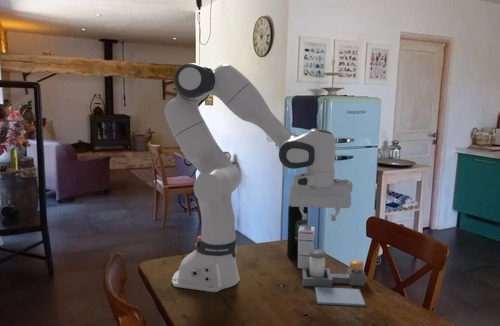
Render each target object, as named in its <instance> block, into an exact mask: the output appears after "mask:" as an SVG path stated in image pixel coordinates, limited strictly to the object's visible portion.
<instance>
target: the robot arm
mask: <svg viewBox="0 0 500 326" xmlns="http://www.w3.org/2000/svg"><path fill="white" fill-rule="evenodd" d="M173 82H174V87H175V89H176V91H177V94H176V96H175V97H174V98H172V99H170V100H169V101H168V102H167V103H166V104H165V107H164V115H165V120H166V122H167V125H168V127H169V130H170V132H171V134H172V136H173V138H174V139H175V141H176V143H177V146H179V148H180V150H181V152H182V154H183V155H184V158H185V159H186V160H187V161H188V162H189V163H191V164H192V165H193V166H194V167H195V168H196V170H197V171H198V173H199V174H198V176H197V177H196V180H195V181H194V183H193V193H194V196H195V197H196V199H197V202H198V205H199V211H200V217H201V218H200V219H201V235H198V236H197V237H196V241H195V249H194V250H193V251H192V252H191V253H188V254H187V255H186V256H185V257H184V258H183V259H182V260H181V262H180V264H179V268H178V270H176V271H175V272H174V274H173V275H172V278H171V284H173V285H172V286H173V287H175V288H183V289H187V290H188V289H190V290H198V291H204V292H209V293H218V292H219V291H221V290H224V289H228V288H231V287H233V286H236V285H237V284H238V283H239V282H240V276H239V270H238V266H237V258H236V256H237V253H238V252H237V250H238V247H237V244H238V243H237V238H236V215H235V213H234V209H233V202H232V193H233V192H234V191H236V189H238V187H239V184H240V179H241V174H240V171H239V169H238V168H237V166H236V165H235V164H233V163H232V161H231V160H230V159H229V157H228V156H227V154H226V153H225V152H224V151H223V150H222V148H221V147H220V146H219V144H218V143H217V142H216V139H215V138H214V135H213V133H212V132H211V131H210V128H209V126H208V125H207V123H206V122H205V120H204V118H203V116H202V114H201V112H200V109H199V107H200V106H201V105H203V103H204V102H205V101H207V99H208V98H209V97H210V96H215V97H217V98H218V99H219V100H220V101H221V102H222V103H223V104H224V105H225V106H226V108H227V109H228V110H229V111H231V113H233V114H234V115H235V116H237V118H239V119H241V120H242V121H244V122H247V123H250V124H253V125H255V126H257V127H258V128H260V129H261V130H262V131H263V132H264V133H265V134H266V135H267V136H268V137H269V138H270V139H271V140H272V141H273V142H274V143H275V144H276V146H277V147H278V149H279V151H278V158H279V162H280V163H281V164H282V165H283V166H284V167H286V168H288V169H291V170H296V169H300V168H306V172H304V173H303V172H302V173H300V174H297V175H294V176H293V178H292V182H293V183H292V184H291V186H290V189H289V194H288V206H289V205H290V206H292V207H299V210H300V212H301V214H302V220H307V214H304V212H303V210H304V207H308V208H326V209H327V208H329V209H330V208H331V209H334V210H335V211H334V213H333V214H332V213H331V214H330V221H331V222H336V221H337V216H338V214H339V213H340V212H341V209H349V208H350V207H352V194H351V193H352V192H353V187H354V186H353V182H352V181H350V180H349V179H340V178H339V179H338V178H335V171H336V170H335V164H334V163H335V159H336V140H335V136H334V134H333V133H332V132H331V131H329V130H326V129H323V128H315V127H314V128H311V129H310V130H308V131H306V132H305V133H303V134H301V135H297V134H295V133H293V132H291V131H290V130H289V129H288V128H287V127H286V126H285V125H284V124H283V123H282V122H281V121H280V120H279V119H278V118H277V116H275V114H274V113H273V112H272V111H271V109H270V108H269V106H268V104H267V102H266V101H265V99H264V97H263V96H262V95H261V94H262V93H260V91H259V90H258V88H256V86H255V85H254V83H252V82H251V81H250V79H248V78H247V77H246V76H245V75H244V74H243V73H242V72H241V71H239V70H238V69H236V68H235V67H234V66H233V65H231V64H227V63H223V64H221V65H219V66H217V67H215V69H212V68H210V67H207V66H204V65H201V64H198V63H194V62H190V63H189V62H188V63H185V64H182V65H181V66H180V67H178V68H177V70H176V71H175V74H174V78H173Z"/></svg>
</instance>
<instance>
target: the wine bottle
mask: <svg viewBox="0 0 500 326" xmlns="http://www.w3.org/2000/svg"><path fill="white" fill-rule="evenodd" d="M287 210H288V211H287V242H286V243H287V245H286V246H287V247H286V249H287V250H286V256H287V257H288V258H289V259H293V260H298V230H299V227H300V226H308V219H309V207H304V210H303V212H304V214H307V220H302V214H301V212H300V210H299V207H292V206H290V205H289V204H288V209H287Z"/></svg>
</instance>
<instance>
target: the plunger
mask: <svg viewBox="0 0 500 326" xmlns="http://www.w3.org/2000/svg"><path fill="white" fill-rule="evenodd" d="M349 268H350V269H352V270H354V272H359V271H360V270H364V261H362V260H360V259H359V260H358V259H351V260H350V261H349Z"/></svg>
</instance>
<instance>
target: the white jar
mask: <svg viewBox="0 0 500 326" xmlns="http://www.w3.org/2000/svg"><path fill="white" fill-rule="evenodd" d="M309 255H310V270H309V276H308V277H312V278H325V276H324V272H325V268H326V267H325V266H326V256H327V253H326V251H325V250H322V249H316V248H315V249H313V250H310V253H309Z"/></svg>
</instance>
